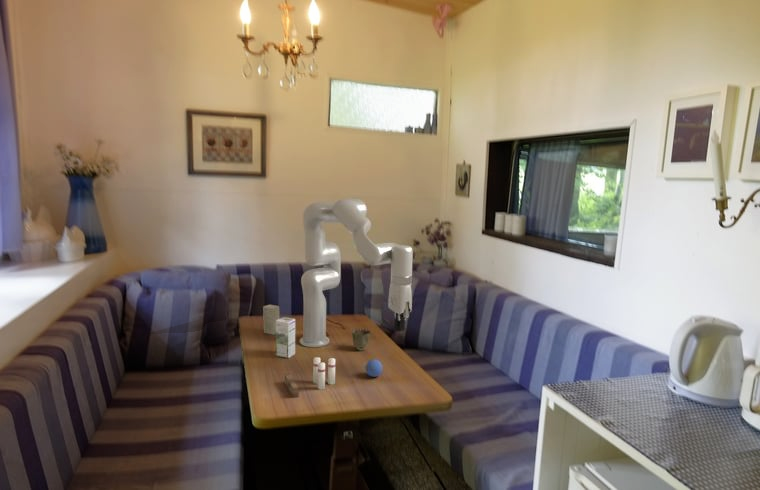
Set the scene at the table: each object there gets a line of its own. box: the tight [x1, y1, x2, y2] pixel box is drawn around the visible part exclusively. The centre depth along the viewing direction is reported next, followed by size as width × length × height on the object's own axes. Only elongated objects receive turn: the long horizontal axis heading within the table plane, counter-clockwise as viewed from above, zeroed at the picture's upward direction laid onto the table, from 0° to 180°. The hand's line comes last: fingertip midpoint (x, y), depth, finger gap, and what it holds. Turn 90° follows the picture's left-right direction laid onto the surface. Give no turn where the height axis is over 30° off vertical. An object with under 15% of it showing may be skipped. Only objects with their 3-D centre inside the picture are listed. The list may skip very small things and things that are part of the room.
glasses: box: [326, 318, 347, 337], centre depth 221 cm, size 13×13×5 cm
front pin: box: [327, 357, 336, 385], centre depth 163 cm, size 2×2×8 cm
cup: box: [351, 328, 371, 352], centre depth 196 cm, size 8×7×8 cm
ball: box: [365, 359, 383, 378], centre depth 170 cm, size 6×6×6 cm
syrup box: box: [275, 317, 296, 359], centre depth 187 cm, size 6×6×14 cm
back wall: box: [284, 373, 300, 398], centre depth 158 cm, size 12×2×3 cm, turn 25°
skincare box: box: [262, 304, 281, 335], centre depth 213 cm, size 6×4×12 cm
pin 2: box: [317, 361, 326, 390], centre depth 159 cm, size 2×2×8 cm
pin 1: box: [312, 356, 321, 385], centre depth 163 cm, size 2×2×8 cm
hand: (399, 330), depth 172 cm, fingers closed
